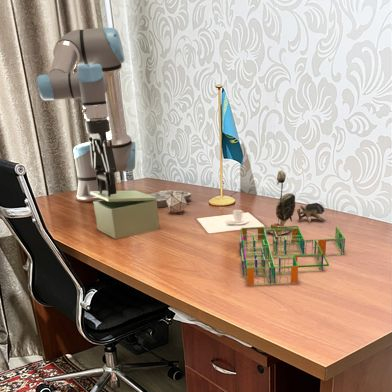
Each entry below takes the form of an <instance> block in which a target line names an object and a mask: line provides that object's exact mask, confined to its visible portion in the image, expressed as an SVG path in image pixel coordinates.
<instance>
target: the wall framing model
mask: <svg viewBox="0 0 392 392" xmlns="http://www.w3.org/2000/svg"><path fill="white" fill-rule="evenodd" d="M270 228H281V229H273V230H267V229H270ZM282 228H285V229H282ZM248 230H257V233H256V234H255V233H253V234H252V235H249V234H248ZM266 230H267V232H265V231H266ZM278 230H280V235H278ZM282 230H283V231H289V232H290V231H291V238H288V237H289V235H282V234H281V233H282ZM270 232H273V233H272V245H273V246H274V249H272V251H273V254H274V255H272V251H271V247H270V243H269V241H268V236H267V233H270ZM256 236H257V239H256V238H255V237H256ZM238 238H239V241H238V242H239V256H240V259H241V260H240V263H241V272H242V277H245V279H246V284H247V286H255V285H261V283H258V281H259V280H258V279H259V277H255V276H258V275H260V276H264V277H263V281H264V282H263V285H266V280H268V281H269V283H268V284H269V285H278V284H282V282H279V280H278V279H282V276H281V275H284V274H288V273H290V276H286V280H287V281H286V284H289V282H288V280H289V278H290V284H297V283H298V280H299V277H298V276H299V268H315V267H317V268H319V269H310V270H306V272H311V271H312V272H314V271H315V272H316V271H324V270H323V269H324V267H330V263H329V262H328V259H327V257H326V256H327V254H326V250H327V242H334V243H335V244H336V245H337V248H338V249H339V250H340V254H339V253H338V254H337V256H344V255H345V246H346V237H345V236H344V234H343V233H342V232H341V230H340V229H339V228H338V226H335V234H334V238H323V239H322V238H321V239H305V238H304V236H303V234H302V232H301V230H300V228H299V226H298V225H288V226H284V227H271V226H270V227H265V226H264V227H250V228H241V229H240V235H239V237H238ZM248 238H252V239H248ZM282 238H283V240H282ZM256 242H258V243H261V244H262V245H261V246H257V247H256ZM249 243H252V244H249ZM308 243H311V250H314V251H313V252H314V253H309V254H307V253H305V251H306V244H308ZM291 244H292V245H293V246H292V247H295V248H296V249H298V247H299V250H300V251H301V253H298V254H292V256H288V255H290V252H293V251H296V249H291ZM294 244H297V246H295V245H294ZM278 245H279V246H278ZM287 245H288V248H287ZM248 246H249V247H248ZM256 249H257V250H260V251H257V250H256ZM278 249H280V253H279V250H278ZM247 250H249V252H248V254H247V252H246V251H247ZM252 250H253V251H252ZM282 252H284V253H282ZM287 252H288V253H287ZM276 253H277V254H276ZM250 257H254V259H253V258H250ZM266 257H267V259H266ZM310 257H313V258H314V257H315V259H316V262H317V264H304V265H298V258H310ZM247 258H250V259H247ZM276 258H278V263H275V261H274V259H276ZM289 259H292V262H291V263H290V262H288V265H286V261H287V260H288V261H289ZM282 261H284V263H281V262H282ZM324 261H325V263H324ZM248 262H250V266H248ZM266 263H268V266H266ZM258 264H261V265H260V266H258ZM285 269H288V270H285ZM282 270H283V272H282ZM259 271H260V272H259ZM258 272H259V273H258ZM255 273H256V274H255ZM278 277H279V278H278ZM255 279H256V283H255ZM276 279H277V281H276ZM272 281H273V282H272Z"/></svg>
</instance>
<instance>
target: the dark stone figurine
mask: <svg viewBox="0 0 392 392" xmlns="http://www.w3.org/2000/svg"><path fill="white" fill-rule="evenodd" d="M286 177H287V175H286V172H284V171H283V170H279V171H278V172H277V176H276V180H277V182H276V184H277V185H278V186H279V184H281V186H280V187H281V188H280V189H281V191H280V197H279V199H278V201H277V203H276V207H275V216H276V218H278V220H277V223H271V224H270V227H285V224H286V222H287V221H288V220H290V222H293V219H292V216H294V213H295V210H296V209H295V208H296V194H297V193H295V194H293V193H290V192H287V193H286V194H285V193H284V195H283V187H284V183H285V181H286ZM279 221H280V222H279ZM273 229H281V228H267V229H265V230H266V231H265V233H268V232H267V230H273ZM282 229H286V228H282ZM269 233H270V234H273V232H269ZM289 233H290V231H283V230H282V233H281V235H283V234H289ZM278 236H280V230H278Z"/></svg>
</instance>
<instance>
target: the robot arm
mask: <svg viewBox="0 0 392 392" xmlns="http://www.w3.org/2000/svg"><path fill="white" fill-rule="evenodd" d="M52 50H53V51H52V52H53V53H52V55H53V59H52V62H51V65H50V67H49V70H48V73H44V74H39V75H38V76H37V78H36V84H37V89H38V93H39V96H40V98H41V100H43V101H52V102H53V101H61V100H73V99H81V101H82V108H83V109H81V110H82V111H81V112H82V113H83V115H84V119H85V122H84V123H85V130H86V133H87V134H89V135H91V136H90V137H88V142H87V141H86V142H83V143H80V144H78V145H77V144H76V145H74V147H73V159H74V164H75V170H76V175H77V182H78V183H77V190H76V199H77V201H78V202H83V203H93V201H99V200H103V199H101V198H99V197H96V196H94V195H92V194H90V191H100V184H99V179H98V178H97V174H98V173H103V174H105V175H106V182H105V181H103V180H102V191H108V195H112V194H117V193H116V191H117V186H116V177H115V173H122V172H124V173H125V172H131V171H133V170H135V168H136V141H133V140H132V137H131V136H130V135H129V134H128V131H127V125H126V117H125V108H124V103H123V95H122V88H121V79H120V74H119V73H120V71H121V70H122V67H123V66H122V64H123V63H124V62H125V55H124V49H123V44H122V41H121V37H120V34H119V32H118V30H117V29H116V28H115V27H104V26H103V27H95V28H85V29H74V30H71V31H70V32H67V33H66V34H64V35H63V36H62V37H60V38H59V39H58V40H57V42H56V43H55V45H54V47H53V49H52ZM76 67H77V68H76ZM75 69H77V71H75ZM74 71H75V72H74Z"/></svg>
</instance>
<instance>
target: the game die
mask: <svg viewBox="0 0 392 392" xmlns="http://www.w3.org/2000/svg"><path fill="white" fill-rule="evenodd" d="M171 191H172V194H171V195H170V197H169V198H168V199H167V200H166V201H165V200H164V202H166V203H167V205H168V207H167V208H168V209H169V214H171V213H178V214H179V215H182V211H183V210H184V209H185V207H186V206H189V205H190V203H188V201H187V202H186V200H185V198H184V196H183V193H184V192H182V193H173V191H174V190H171Z"/></svg>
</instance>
